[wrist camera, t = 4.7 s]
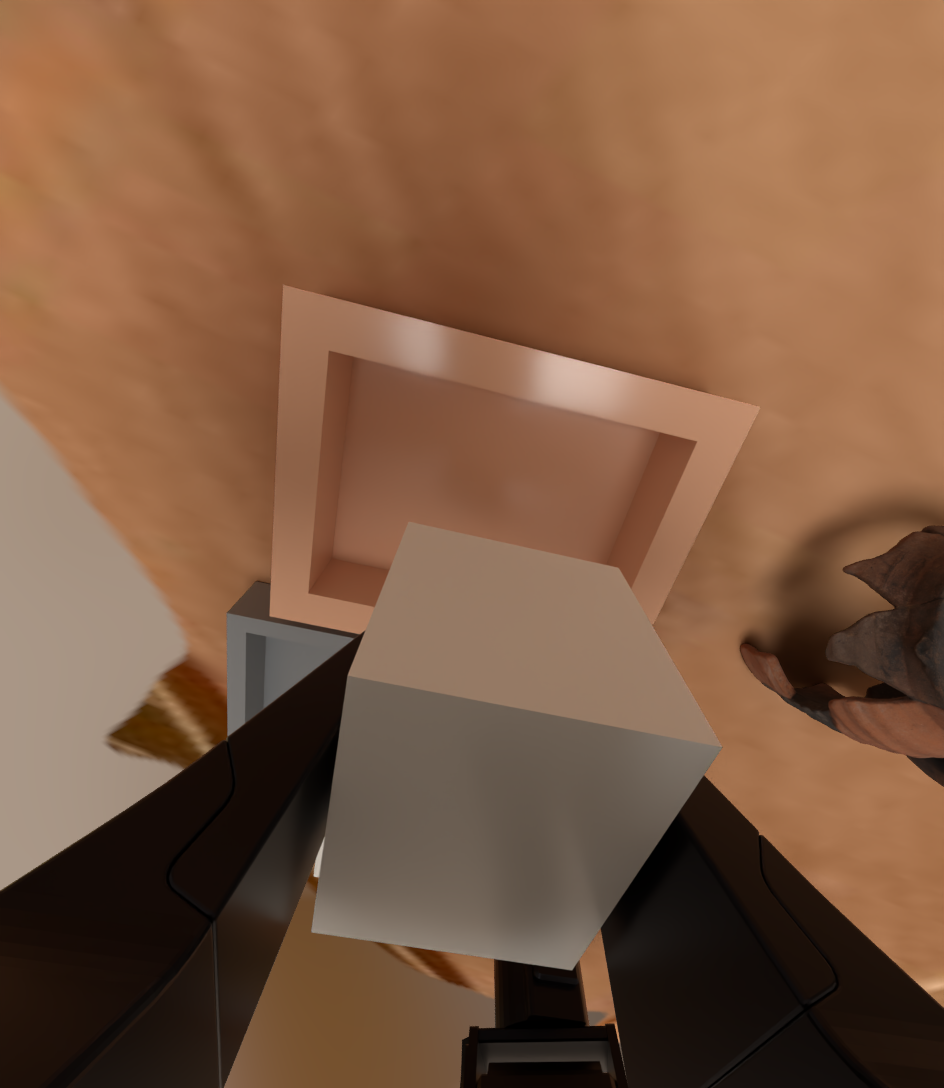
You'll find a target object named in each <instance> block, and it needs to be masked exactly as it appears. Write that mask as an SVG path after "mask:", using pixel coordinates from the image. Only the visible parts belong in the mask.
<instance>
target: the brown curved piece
mask: <svg viewBox="0 0 944 1088" xmlns="http://www.w3.org/2000/svg"><path fill="white" fill-rule="evenodd" d="M843 571H844V572H845V573H847V574H850V575H853V576H855V577H857V578H858V579H860V580H862V581H864V582H865V583H866V584H868V585H869V586H870V587H871V588H872V589H873V590H874V591H876V592H877V593H878V594H880V595H881V596H882V597H883V598H884V599H886V600H887V601H888V602H889V603H890V604H892V605H893V606H894V607H895V609H893V610H888V611H879V612H874V613H871V614H868V615H866V616H864V617H863V618H861V619H860V620H859V621H857V622H856V623H855V624H853V625H852V626H850V627H849V628H848V629H846V630H843V631H840V632H837V633H835V634H834V635H832V636H831V638H830V639H829V641H828V644H827V648H826V651H825V654H826V658H827V659H828V660H830V661H835V662H840V663H843V664H846V665H854V666H856V667H857V668H859V669H860V670H861V671H862V672H864V673H866V674H867V675H869V676H871V677H873V678H875V679H878V680H880V681H883V682H884V683H882V684H879V685H875V686H872V687H870V688H868V689H867V692H866V697H865V698H863V697H854V696H853V697H845V696H843V695H841V694H840V693H838V692H837V691H835V690H834V689H833V688H832V687H830V686H829V685H827V684H825V683H820V684H817V685H814V686H812V687H805V688H793V687H792V685H791V684H790V682H789V681H788V679H787V677H786V676H785V674H784V671H783V669H782V667H781V665H780V663H779V661H778V659H777V657H776V656H775V655H773V654H770V653H765V652H759V651H758V650H757V649H756V648H754V647H753V646H751V645H749V644H746V643H745V644H742V645H741V646H740V651H741V653H742V656H743V659H744V661H745V663H746V664H747V666H748V668H749V669H750V671H751V672H752V673H753V674H754V676H755V677H756V678H757V679H758V680H759V681H761V683H762V684H763V685H764V686H766V687H767V688H769V689H771V690H772V691H774V692H776V693H777V694H778V695H779V696H781V698H782V699H783V700H784V701H786V702H787V703H788V704H790V705H792V706H793V707H796V708H797V709H799V710H800V711H802V712H804V713H807V715H809V716H810V717H811V718H813V719H815V720H817V721H819V722H821V723H823V724H825V725H827V726H828V727H830V728H831V729H833V730H836V731H838V732H840V733H843V734H845V735H846V736H848V737H850V738H851V739H853V740H855V741H858V742H860V743H863V744H869V745H872V746H875V747H878V748H880V749H883V750H887V751H889V752H893V753H898V754H904V755H906V756H907V757H908V758H909V759H910V760H911V761H912V762H913V763H914V764H915V765H916V766H918V767H919V768H920V769H921V770H922V771H923V772H924V773H926V774H927V775H928V776H929V777H931V778H932V779H933V780H935V781H936V782H938V783H939V784H940V785H942V786H943V787H944V526H927V527H925V528H924V529H923V530H922V531H921V532H913V533H911V534H909V535H908V536H906V537H904V538H903V539H901V540H900V541H899V542H898V544H897V545H895V546H894V547H893V548H891V549H890V550H889V551H888V552H887V553H885V554H883V555H880V556H877V557H875V558H872V559H866V560H862V561H859V562H856V563H853V564H851V565H848V566H845V567H844V568H843Z"/></svg>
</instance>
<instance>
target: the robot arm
mask: <svg viewBox="0 0 944 1088" xmlns="http://www.w3.org/2000/svg"><path fill="white" fill-rule="evenodd" d="M364 633H365V631H363V632H362V633H361V634H360V635H358V636H357V637H356V638H354V639H353V640H352V641H351V642H349V643H348V644H347V645H345V646H344V647H343V648H341V649H340V650H339V651H338V652H336V653H335V654H334V655H332V656H331V657H330V658H329V659H327V660H326V661H325V662H323V663H322V664H321V665H320V666H318V667H317V668H316V669H314V670H313V671H312V672H310V673H309V674H308V675H307V676H305V677H304V678H303V679H301V680H300V681H299V682H298V683H296V684H295V685H294V686H292V687H291V688H290V689H289V690H287V691H286V692H285V693H283V694H282V695H281V696H279V697H278V698H277V699H276V700H274V701H273V702H272V703H270V704H269V705H268V706H267V707H265V708H264V709H263V710H261V711H260V712H259V713H258V714H256V715H255V716H254V717H252V718H251V719H250V720H249V721H247V722H246V723H245V724H243V725H242V726H241V727H239V728H238V729H237V730H236V731H234V732H233V733H232V734H230V735H229V736H228V737H227V739H226V741H225V740H223V741H221V742H220V743H218V744H217V745H216V746H215V747H213V748H212V749H211V750H209V751H208V752H207V753H206V754H204V755H203V756H202V757H200V758H199V759H198V760H196V761H195V762H194V763H192V764H191V765H189V766H188V767H187V768H185V769H184V770H183V771H181V772H180V773H179V774H177V775H176V776H175V777H173V778H172V779H170V780H169V781H168V782H167V783H165V784H163V785H162V786H160V787H159V788H157V789H156V790H155V791H153V792H151V793H150V794H148V795H147V796H145V797H144V798H142V799H141V800H140V801H138V802H137V803H135V804H134V805H132V806H131V807H129V808H128V809H126V810H125V811H123V812H122V813H120V814H119V815H117V816H115V817H114V818H112V819H111V820H109V821H108V822H106V823H104V824H103V825H101V826H100V827H98V828H97V829H95V830H94V831H92V832H91V833H89V834H88V835H86V836H84V837H83V838H81V839H80V840H78V841H77V842H75V843H73V844H72V845H70V846H69V847H67V848H66V849H64V850H63V851H61V852H60V853H58V854H56V855H55V856H53V857H52V858H50V859H49V860H47V861H46V862H44V863H42V864H41V865H39V866H38V867H36V868H35V869H33V870H31V871H30V872H28V873H27V874H25V875H24V876H22V877H21V878H19V879H18V880H16V881H14V882H13V883H11V884H10V885H8V886H7V887H5V888H4V889H2V890H0V1088H224V1086H225V1083H226V1081H227V1078H228V1076H229V1073H230V1071H231V1068H232V1066H233V1063H234V1061H235V1058H236V1056H237V1053H238V1051H239V1049H240V1046H241V1043H242V1041H243V1038H244V1036H245V1034H246V1031H247V1029H248V1026H249V1024H250V1021H251V1019H252V1016H253V1014H254V1011H255V1009H256V1006H257V1004H258V1001H259V998H260V996H261V994H262V991H263V989H264V986H265V984H266V981H267V979H268V976H269V974H270V971H271V969H272V966H273V964H274V962H275V959H276V957H277V954H278V952H279V949H280V947H281V944H282V942H283V939H284V937H285V934H286V932H287V929H288V926H289V924H290V921H291V919H292V917H293V914H294V911H295V909H296V907H297V904H298V902H299V899H300V897H301V894H302V892H303V889H304V887H305V884H306V882H307V880H308V877H309V875H310V872H311V870H312V867H313V865H314V862H315V860H316V857H317V855H318V852H319V850H320V847H321V845H322V842H323V840H324V837H325V831H326V824H327V817H328V810H329V803H330V796H331V789H332V782H333V775H334V768H335V761H336V754H337V747H338V740H339V733H340V726H341V718H342V711H343V704H344V697H345V690H346V683H347V676H348V673H349V671H350V668H351V666H352V663H353V661H354V658H355V656H356V653H357V651H358V648H359V646H360V643H361V641H362V638H363V635H364ZM601 933H602V939H603V944H604V950H605V956H606V962H607V968H608V973H609V979H610V985H611V991H612V997H613V1003H614V1008H615V1014H616V1020H617V1026H618V1032H619V1038H620V1043H621V1049H622V1055H623V1061H624V1066H623V1061H622V1057H621V1052H620V1047H619V1043H618V1038H617V1034H616V1029H615V1025H614V1024H605V1026H589V1020H588V1015H587V1007H586V1001H585V994H584V988H583V981H582V974H581V968H580V961H578V962H577V964H576V965H575V967H574V968H573V970H566V969H559V968H553V967H546V966H539V965H532V964H525V963H518V962H512V961H505V960H498V959H494V981H495V1028H479V1026H470V1030H469V1031H470V1032H469V1037H467V1038H465V1039H463V1040H462V1065H461V1083H460V1088H944V1008H943V1007H942V1006H941V1005H940V1004H939V1003H938V1002H937V1001H936V1000H935V999H934V998H932V997H931V996H930V995H929V994H928V993H927V992H926V991H925V990H924V989H923V988H922V987H921V986H919V985H918V984H917V983H916V982H915V981H914V980H913V979H912V978H911V977H910V976H909V975H908V974H906V973H905V972H904V971H903V970H902V969H901V968H900V967H899V966H898V965H897V964H896V963H895V962H894V961H892V960H891V959H890V958H889V957H888V956H887V955H886V954H885V953H884V952H883V951H882V950H881V949H879V948H878V947H877V946H876V945H875V944H874V943H873V942H872V941H871V940H870V939H869V938H868V937H866V936H865V935H864V934H863V933H862V932H861V931H860V930H859V929H858V928H857V927H856V926H855V925H854V924H853V923H852V922H850V921H849V920H848V919H847V918H846V917H845V916H844V915H843V914H842V913H841V912H840V911H839V910H838V909H837V908H836V907H835V906H834V905H832V904H831V903H830V902H829V901H828V900H827V899H826V898H825V897H824V896H823V895H822V894H821V893H820V892H819V891H818V890H817V889H816V888H815V887H814V886H813V885H812V884H811V883H810V882H809V881H808V880H807V879H806V878H805V877H804V876H803V875H802V874H801V873H800V872H799V871H798V870H797V869H796V868H795V867H794V866H793V865H792V864H791V863H790V862H789V861H788V860H787V859H786V858H785V857H784V856H783V855H782V854H781V853H780V852H779V851H778V850H777V849H776V848H775V847H774V846H773V845H772V844H771V843H770V842H769V841H768V840H767V839H766V838H765V837H764V836H763V835H759V832H758V830H757V829H756V828H755V827H754V826H753V825H752V824H751V823H750V822H749V821H748V820H747V819H746V818H745V817H744V816H743V815H742V814H741V813H740V812H739V811H738V809H737V808H736V807H735V806H734V805H733V804H732V803H731V802H730V801H729V800H728V799H727V798H726V797H725V796H724V795H723V794H722V793H721V792H720V791H719V790H718V789H717V788H716V787H715V786H714V785H713V784H712V783H711V782H710V781H709V780H708V779H707V778H706V777H705V776H703V777H702V779H701V780H700V781H699V783H698V784H697V786H696V787H695V789H694V790H693V792H692V793H691V795H690V796H689V798H688V799H687V801H686V802H685V804H684V805H683V807H682V808H681V810H680V811H679V813H678V814H677V816H676V817H675V818H674V820H673V821H672V823H671V824H670V826H669V827H668V829H667V830H666V832H665V833H664V835H663V836H662V838H661V839H660V841H659V842H658V844H657V845H656V847H655V848H654V850H653V851H652V853H651V854H650V856H649V857H648V858H647V860H646V861H645V863H644V864H643V866H642V867H641V869H640V870H639V872H638V873H637V875H636V876H635V878H634V879H633V881H632V882H631V884H630V885H629V887H628V888H627V890H626V891H625V893H624V894H623V896H622V897H621V898H620V900H619V901H618V903H617V904H616V906H615V907H614V909H613V910H612V912H611V913H610V915H609V916H608V918H607V919H606V921H605V922H604V924H603V925H602V927H601ZM624 1067H625V1070H624ZM603 1072H607V1073H603ZM625 1072H626V1075H625ZM626 1078H627V1079H626Z"/></svg>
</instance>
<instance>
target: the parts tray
mask: <svg viewBox="0 0 944 1088" xmlns="http://www.w3.org/2000/svg"><path fill="white" fill-rule="evenodd" d="M270 591H271V584H267V583H262V582H257V581H256V582H255V583H254V584H253V585H252V586H251V587H250V588H249V589H248V591H247V592H246V593H245V594H244V595H243V596H242V597H241V598H240V599H239V600H238V601H237V602H236V604H235V605H234V606H233V607H232V608H231V609H230V610H229V611H228V612H227V707H228V736H229V735H230V734H232V733H233V732H234V731H236V730H237V729H238V728H239V727H241V726H242V725H243V724H245V723H246V722H247V721H249V720H250V719H251V718H252V717H254V716H255V715H256V714H258V713H259V712H260V711H261V710H263V709H264V708H265V707H267V706H268V705H269V704H270V703H272V702H273V701H274V700H276V699H277V698H278V697H279V696H281V695H282V694H283V693H285V692H286V691H287V690H289V689H290V688H291V687H292V686H294V685H295V684H296V683H298V682H299V681H300V680H301V679H303V678H304V677H305V676H307V675H308V674H309V673H310V672H312V671H313V670H314V669H316V668H317V667H318V666H320V665H321V664H322V663H323V662H325V661H326V660H327V659H329V658H330V657H331V656H332V655H334V654H335V653H336V652H338V651H339V650H340V649H341V648H343V647H344V646H345V645H347V644H348V643H349V642H351V641H352V640H353V639H354V638H356V637H357V636H358V635H360V634H356V633H351V632H346V631H341V630H336V629H331V628H326V627H321V626H316V625H311V624H306V623H301V622H296V621H291V620H286V619H281V618H276V617H271V616H269V615H270Z"/></svg>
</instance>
